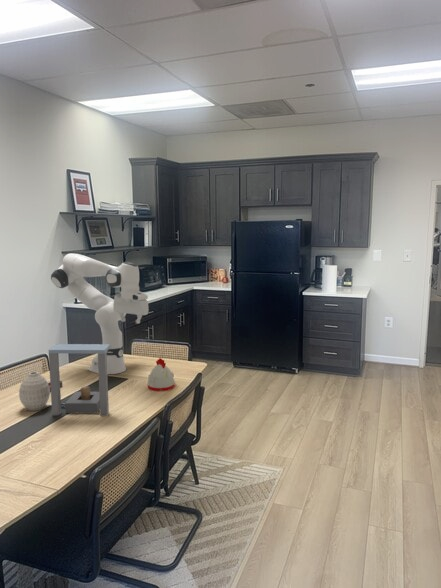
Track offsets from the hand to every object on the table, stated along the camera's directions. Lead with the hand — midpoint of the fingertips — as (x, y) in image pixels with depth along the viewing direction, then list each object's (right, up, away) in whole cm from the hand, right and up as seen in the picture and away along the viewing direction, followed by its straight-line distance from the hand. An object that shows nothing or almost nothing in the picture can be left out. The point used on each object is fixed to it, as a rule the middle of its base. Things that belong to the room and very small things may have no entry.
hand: (130, 322), depth 217 cm
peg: (-17, -38, -18) cm, 45 cm away
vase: (-39, -38, -20) cm, 58 cm away
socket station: (-17, -38, -19) cm, 46 cm away
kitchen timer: (+14, -34, +9) cm, 38 cm away
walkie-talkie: (-44, -35, +2) cm, 56 cm away
